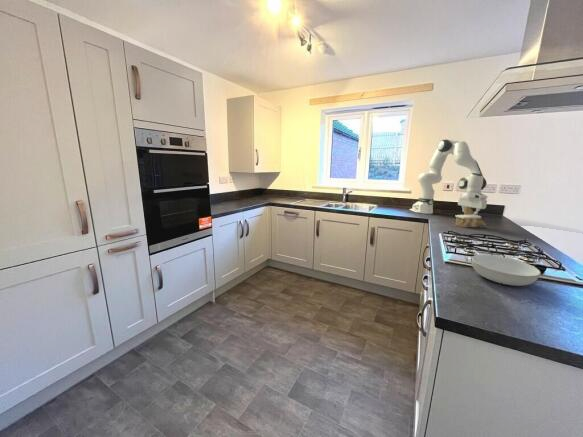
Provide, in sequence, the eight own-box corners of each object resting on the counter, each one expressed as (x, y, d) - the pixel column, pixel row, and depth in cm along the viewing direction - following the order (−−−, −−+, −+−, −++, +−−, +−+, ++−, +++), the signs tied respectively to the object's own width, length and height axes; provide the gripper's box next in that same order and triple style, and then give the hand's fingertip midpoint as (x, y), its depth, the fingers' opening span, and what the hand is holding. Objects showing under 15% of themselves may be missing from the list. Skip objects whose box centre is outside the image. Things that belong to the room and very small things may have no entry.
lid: (463, 219, 179) (463, 216, 178) (455, 217, 185) (455, 215, 185) (480, 219, 183) (481, 216, 182) (472, 217, 189) (473, 214, 189)
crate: (461, 227, 181) (462, 218, 179) (454, 225, 186) (456, 216, 184) (477, 226, 185) (479, 217, 183) (471, 224, 190) (473, 216, 188)
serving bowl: (470, 264, 112) (473, 250, 110) (532, 278, 99) (536, 263, 97) (466, 280, 96) (470, 264, 94) (540, 299, 83) (545, 281, 82)
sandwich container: (486, 226, 188) (490, 207, 185) (463, 222, 196) (466, 205, 193) (485, 223, 195) (489, 205, 192) (462, 221, 203) (466, 203, 200)
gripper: (457, 193, 189) (454, 210, 192) (483, 196, 169) (479, 215, 172) (463, 193, 190) (460, 210, 193) (489, 196, 171) (486, 215, 174)
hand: (469, 213), depth 183 cm, fingers open, 8 cm apart
